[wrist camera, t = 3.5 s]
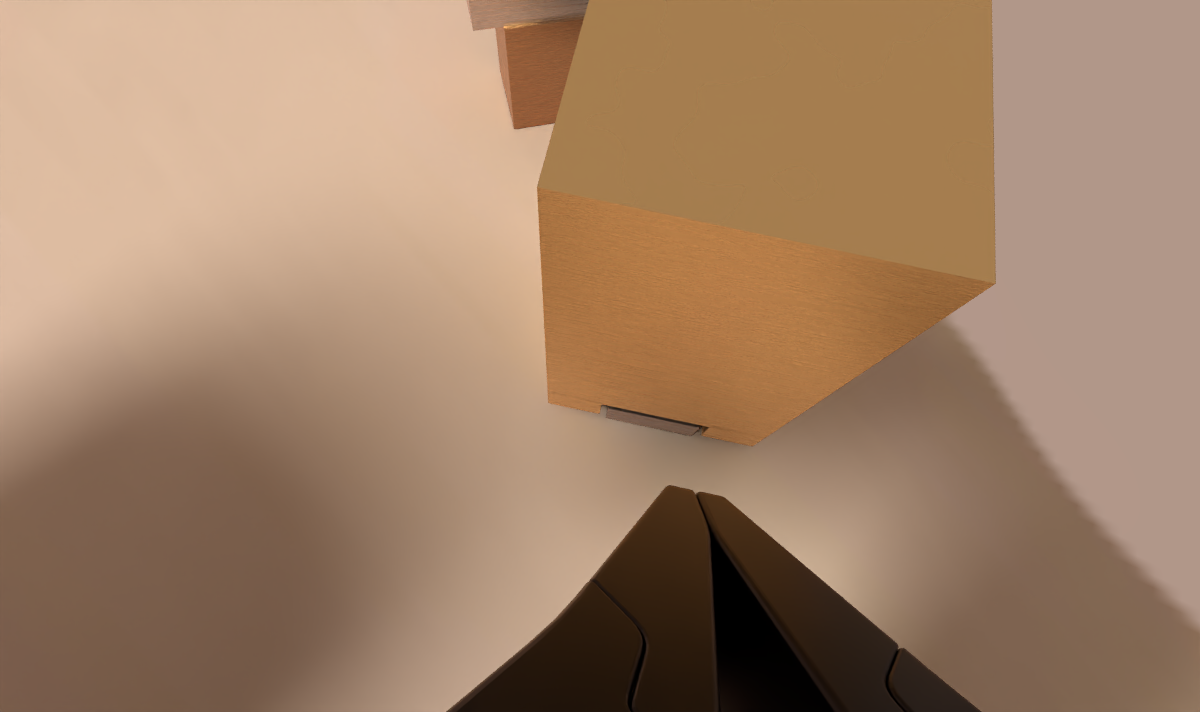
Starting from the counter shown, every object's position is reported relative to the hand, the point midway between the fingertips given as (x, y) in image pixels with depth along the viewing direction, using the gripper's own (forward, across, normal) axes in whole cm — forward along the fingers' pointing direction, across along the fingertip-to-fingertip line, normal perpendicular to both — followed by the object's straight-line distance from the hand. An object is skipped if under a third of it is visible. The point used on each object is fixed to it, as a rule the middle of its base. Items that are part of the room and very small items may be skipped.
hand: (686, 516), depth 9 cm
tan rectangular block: (+9, 0, -2) cm, 10 cm away
